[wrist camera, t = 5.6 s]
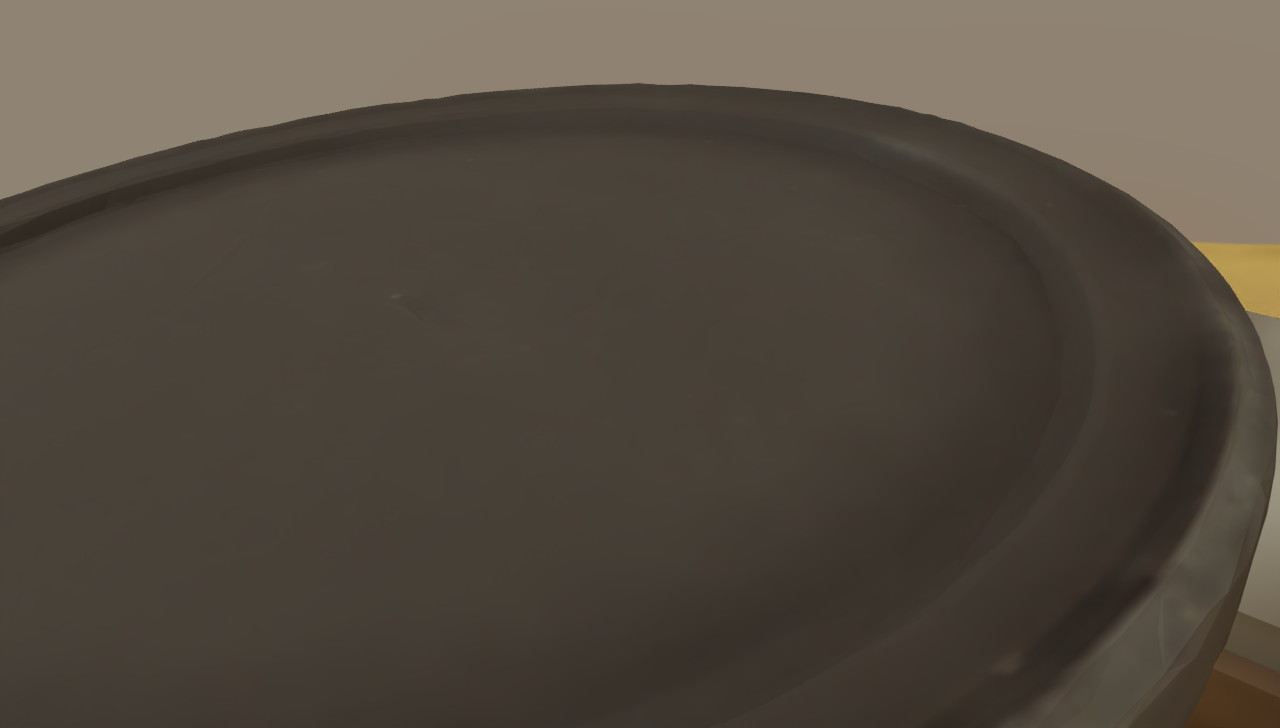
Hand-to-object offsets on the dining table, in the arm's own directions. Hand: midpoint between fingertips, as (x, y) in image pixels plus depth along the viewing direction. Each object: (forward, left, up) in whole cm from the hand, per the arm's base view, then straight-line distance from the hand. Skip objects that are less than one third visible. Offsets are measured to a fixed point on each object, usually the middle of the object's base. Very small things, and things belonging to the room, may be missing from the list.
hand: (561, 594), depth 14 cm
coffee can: (+3, -3, -8) cm, 9 cm away
